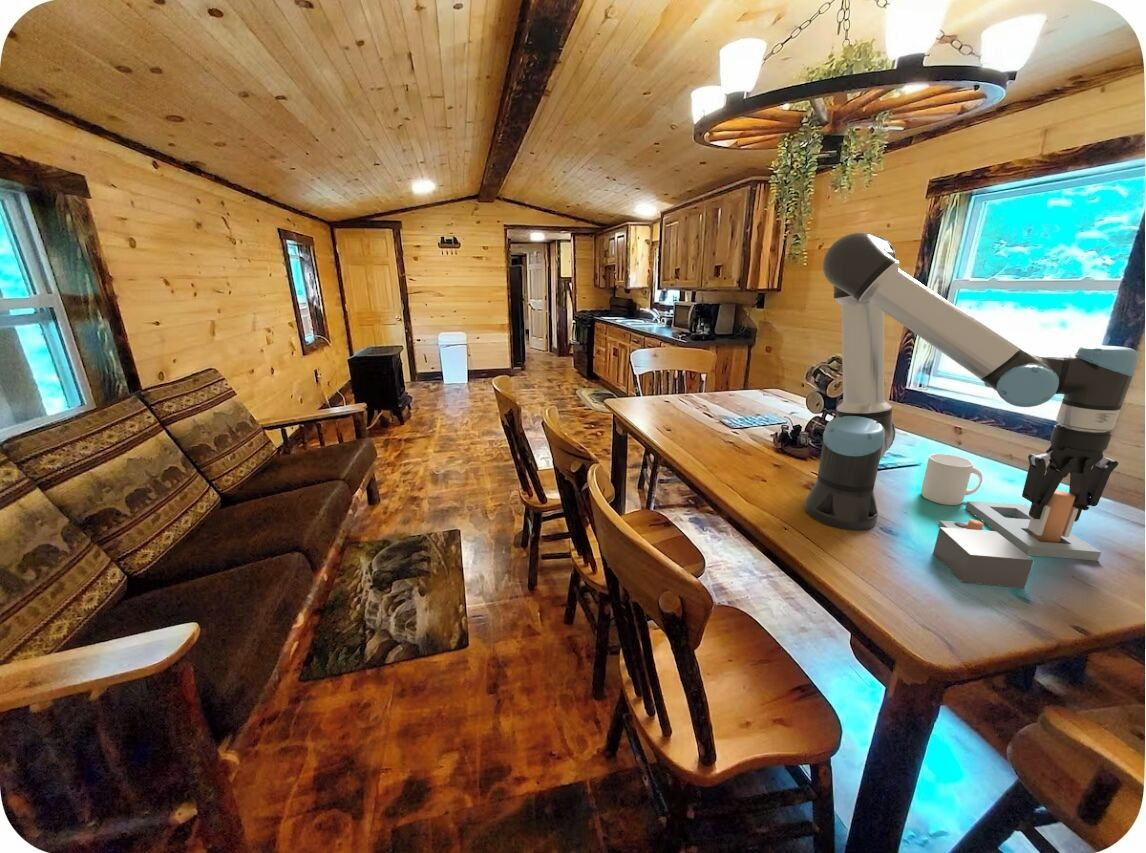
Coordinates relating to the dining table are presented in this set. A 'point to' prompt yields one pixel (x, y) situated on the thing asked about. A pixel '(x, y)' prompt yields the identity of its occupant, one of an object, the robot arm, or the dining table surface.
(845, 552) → the dining table surface
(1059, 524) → the peg
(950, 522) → the board
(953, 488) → the mug
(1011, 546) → the cover
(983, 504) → the socket board
